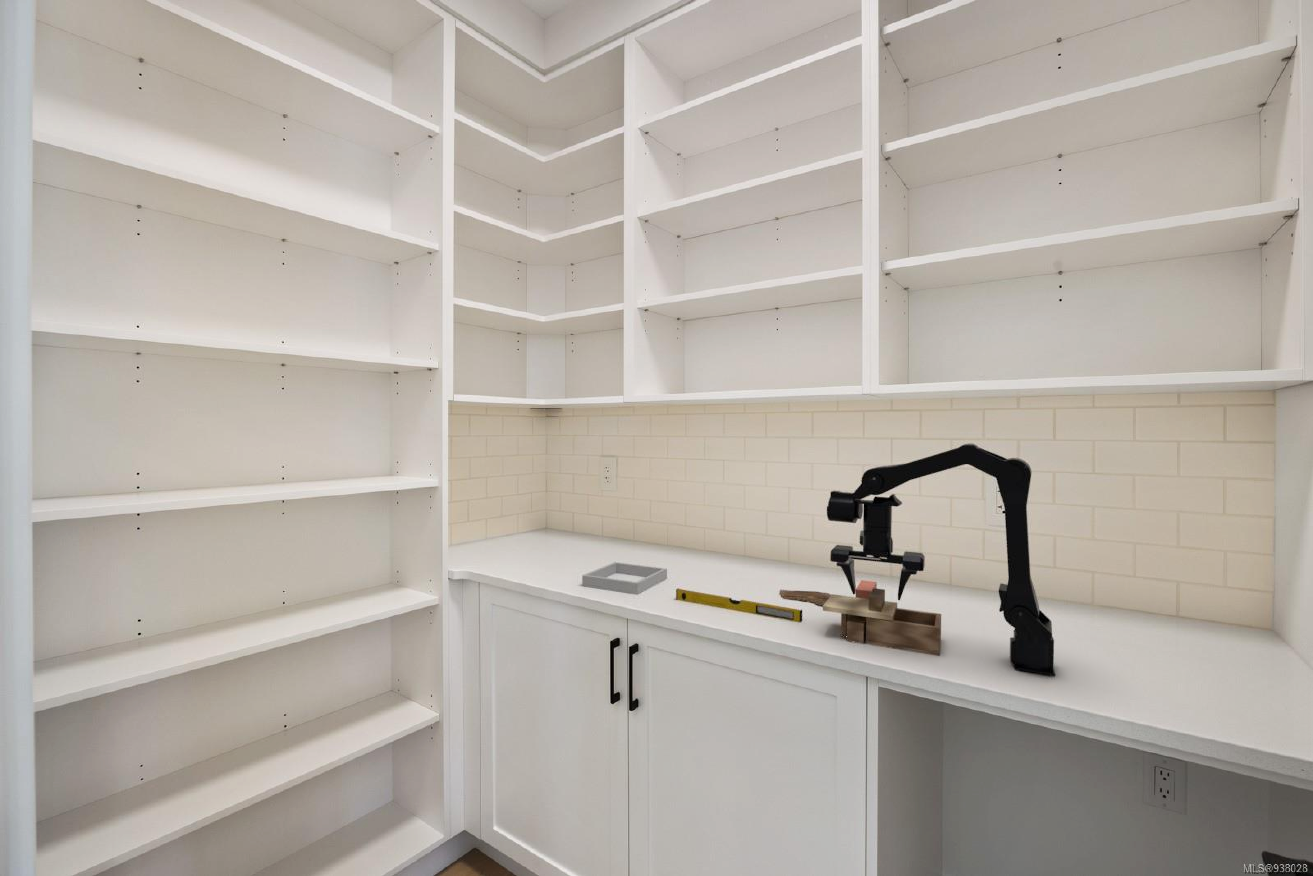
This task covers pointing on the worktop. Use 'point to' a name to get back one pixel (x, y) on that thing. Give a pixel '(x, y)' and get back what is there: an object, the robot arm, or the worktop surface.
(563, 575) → the worktop surface
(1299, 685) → the worktop surface
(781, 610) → the spirit level
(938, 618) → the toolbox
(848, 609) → the lid
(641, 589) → the parts corral
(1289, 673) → the worktop surface
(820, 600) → the wooden fragment
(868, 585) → the pink rectangular block
